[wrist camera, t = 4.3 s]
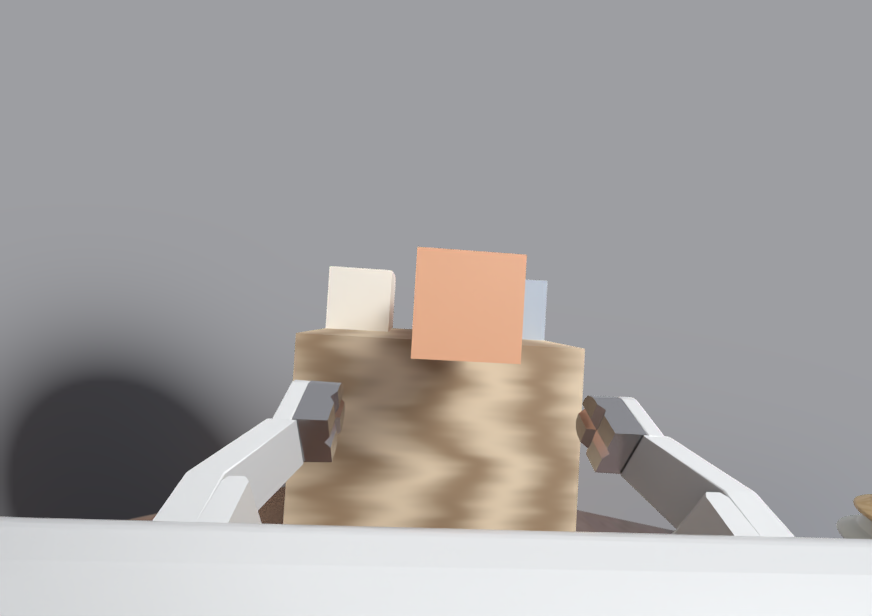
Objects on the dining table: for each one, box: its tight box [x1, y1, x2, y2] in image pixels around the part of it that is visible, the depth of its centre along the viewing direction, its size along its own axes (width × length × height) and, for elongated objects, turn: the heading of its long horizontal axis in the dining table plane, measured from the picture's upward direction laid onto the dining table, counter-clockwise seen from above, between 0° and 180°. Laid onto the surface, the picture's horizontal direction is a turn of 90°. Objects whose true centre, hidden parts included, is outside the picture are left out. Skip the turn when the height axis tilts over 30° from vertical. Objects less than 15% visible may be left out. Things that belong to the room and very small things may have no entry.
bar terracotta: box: [411, 247, 527, 364], centre depth 22 cm, size 4×21×4 cm, turn 4°
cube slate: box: [522, 280, 547, 340], centre depth 30 cm, size 5×5×5 cm
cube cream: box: [326, 266, 396, 332], centre depth 29 cm, size 5×5×5 cm
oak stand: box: [283, 328, 585, 532], centre depth 26 cm, size 18×12×26 cm
